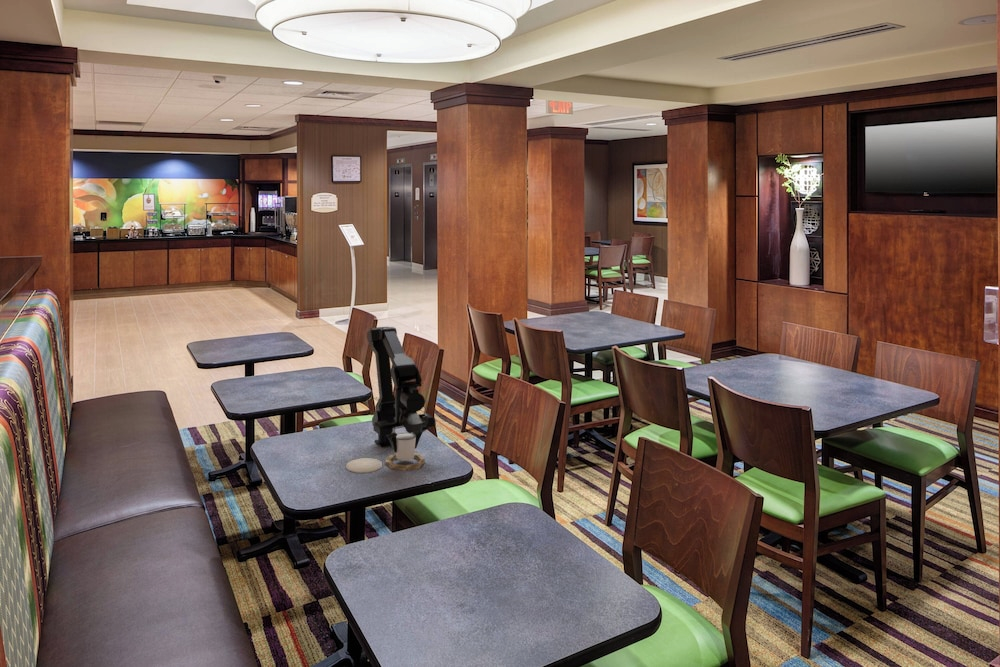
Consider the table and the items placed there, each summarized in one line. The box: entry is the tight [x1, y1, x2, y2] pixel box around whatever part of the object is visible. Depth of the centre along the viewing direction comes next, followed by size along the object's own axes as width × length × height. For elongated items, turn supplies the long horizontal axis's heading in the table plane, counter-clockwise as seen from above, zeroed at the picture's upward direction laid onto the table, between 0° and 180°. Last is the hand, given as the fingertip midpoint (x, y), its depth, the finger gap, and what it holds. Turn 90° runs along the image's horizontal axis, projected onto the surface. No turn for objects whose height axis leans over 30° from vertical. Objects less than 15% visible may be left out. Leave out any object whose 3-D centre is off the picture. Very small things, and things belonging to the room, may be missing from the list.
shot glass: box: [395, 432, 416, 462], centre depth 224 cm, size 7×7×7 cm
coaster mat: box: [345, 457, 383, 474], centre depth 222 cm, size 11×11×1 cm
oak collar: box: [385, 452, 426, 472], centre depth 225 cm, size 11×11×1 cm
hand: (405, 450), depth 224 cm, fingers closed on shot glass, 6 cm apart
